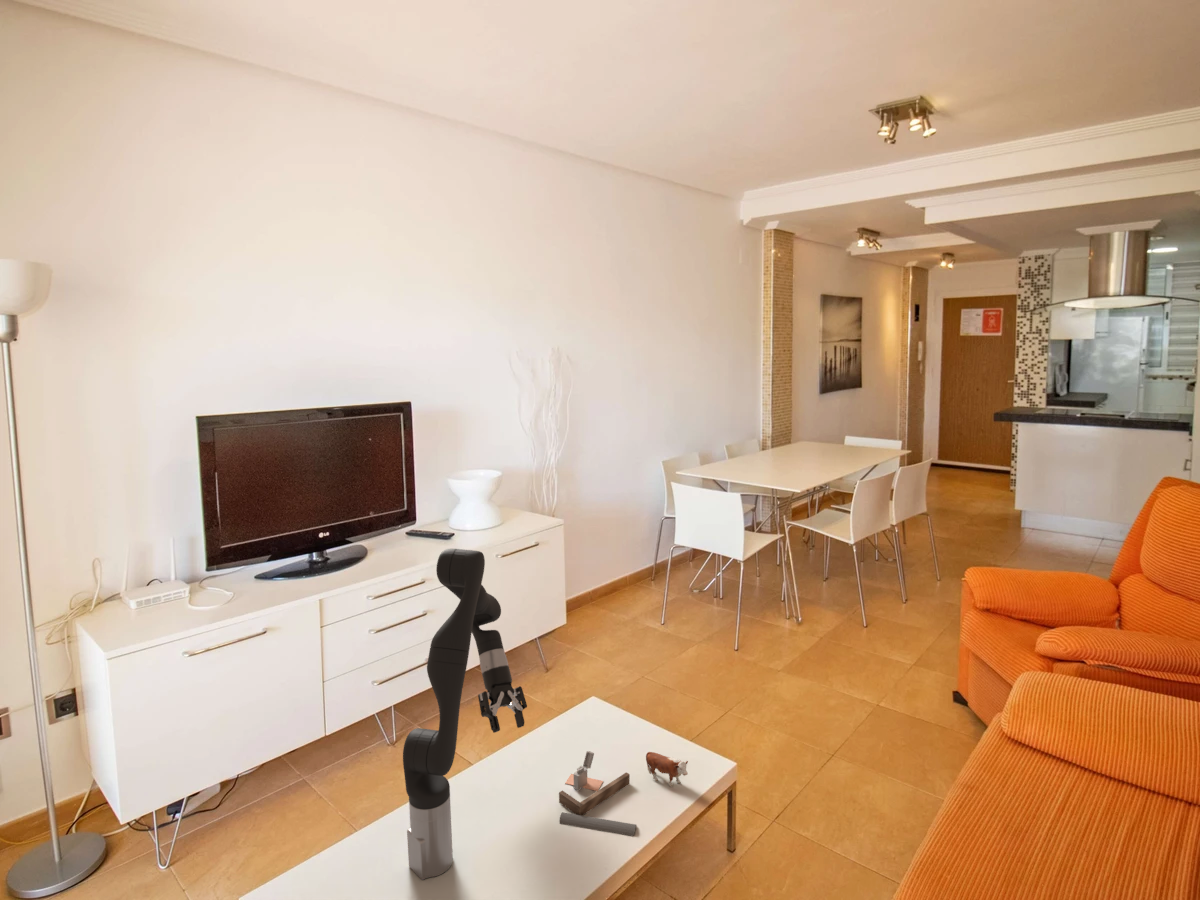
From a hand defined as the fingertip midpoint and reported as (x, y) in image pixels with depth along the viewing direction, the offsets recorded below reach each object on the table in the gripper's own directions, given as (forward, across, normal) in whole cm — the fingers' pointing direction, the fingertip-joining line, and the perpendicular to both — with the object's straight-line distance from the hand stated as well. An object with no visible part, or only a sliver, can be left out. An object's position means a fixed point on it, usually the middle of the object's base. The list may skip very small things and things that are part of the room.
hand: (509, 729), depth 184 cm
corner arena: (+21, +20, -5) cm, 30 cm away
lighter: (+18, +21, -1) cm, 28 cm away
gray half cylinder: (+29, +12, -10) cm, 33 cm away
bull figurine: (+25, +36, -17) cm, 47 cm away
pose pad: (+18, +21, -1) cm, 28 cm away
